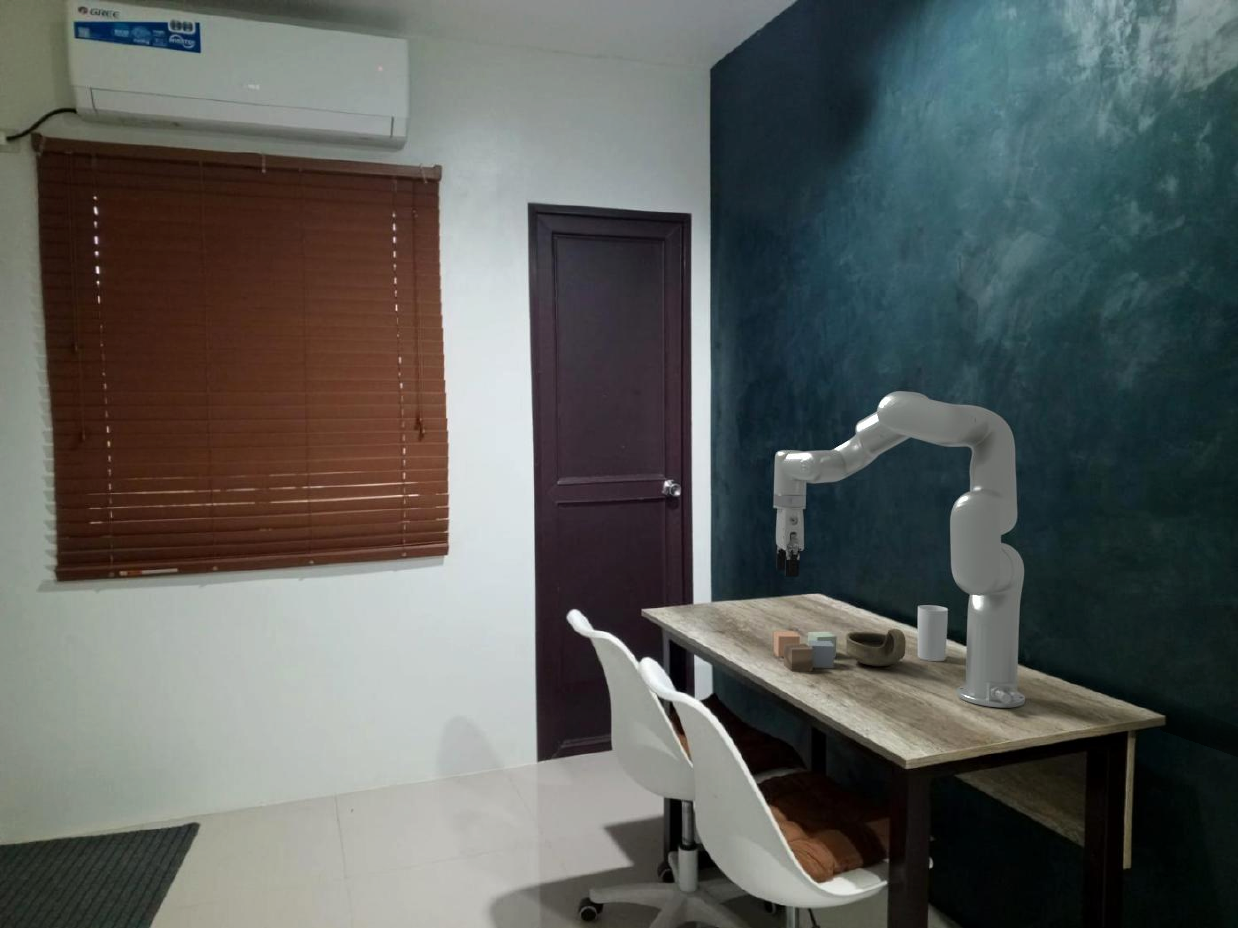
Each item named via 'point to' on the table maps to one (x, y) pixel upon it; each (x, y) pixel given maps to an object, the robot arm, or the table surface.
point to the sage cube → (822, 638)
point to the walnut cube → (798, 657)
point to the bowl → (876, 647)
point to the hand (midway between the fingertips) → (787, 573)
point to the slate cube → (822, 654)
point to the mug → (932, 632)
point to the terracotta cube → (784, 641)
